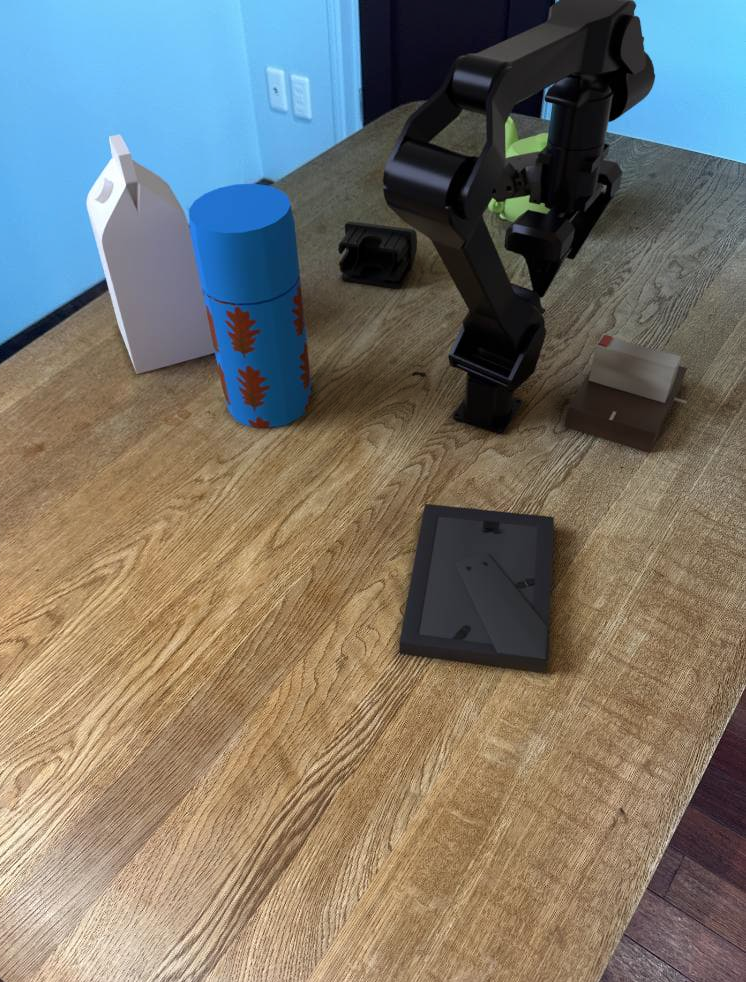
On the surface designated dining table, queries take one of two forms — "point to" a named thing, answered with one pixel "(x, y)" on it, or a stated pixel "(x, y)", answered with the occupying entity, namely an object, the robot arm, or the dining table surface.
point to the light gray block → (634, 368)
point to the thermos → (253, 301)
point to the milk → (148, 264)
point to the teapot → (514, 147)
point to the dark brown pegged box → (620, 413)
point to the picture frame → (481, 588)
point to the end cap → (377, 254)
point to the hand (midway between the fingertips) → (554, 276)
